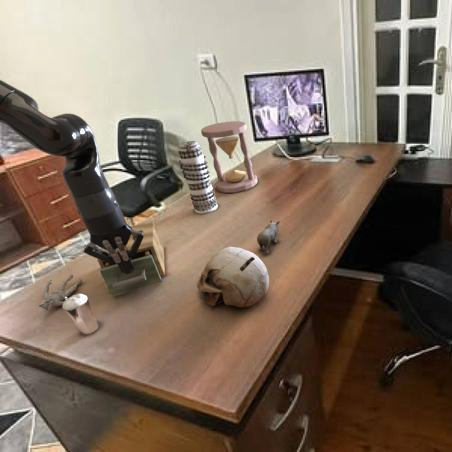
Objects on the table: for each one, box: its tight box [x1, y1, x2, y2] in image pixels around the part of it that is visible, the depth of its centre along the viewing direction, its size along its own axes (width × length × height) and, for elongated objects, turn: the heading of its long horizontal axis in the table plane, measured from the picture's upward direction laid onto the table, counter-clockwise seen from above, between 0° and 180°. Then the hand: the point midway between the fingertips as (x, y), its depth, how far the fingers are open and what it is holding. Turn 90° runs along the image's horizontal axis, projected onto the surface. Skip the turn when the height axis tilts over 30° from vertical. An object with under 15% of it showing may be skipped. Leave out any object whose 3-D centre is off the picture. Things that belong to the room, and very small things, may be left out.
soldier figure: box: [38, 274, 83, 311], centre depth 89 cm, size 8×5×12 cm
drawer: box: [99, 249, 163, 297], centre depth 92 cm, size 19×12×8 cm, turn 24°
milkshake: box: [60, 293, 99, 335], centre depth 77 cm, size 4×5×10 cm
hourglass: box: [200, 120, 259, 194], centre depth 145 cm, size 18×18×25 cm
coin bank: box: [196, 246, 270, 309], centre depth 83 cm, size 16×17×13 cm
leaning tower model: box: [176, 140, 219, 214], centre depth 126 cm, size 9×9×25 cm
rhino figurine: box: [256, 219, 281, 255], centre depth 105 cm, size 4×14×6 cm, turn 167°
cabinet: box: [97, 220, 166, 278], centre depth 97 cm, size 16×13×10 cm
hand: (129, 271), depth 86 cm, fingers closed
